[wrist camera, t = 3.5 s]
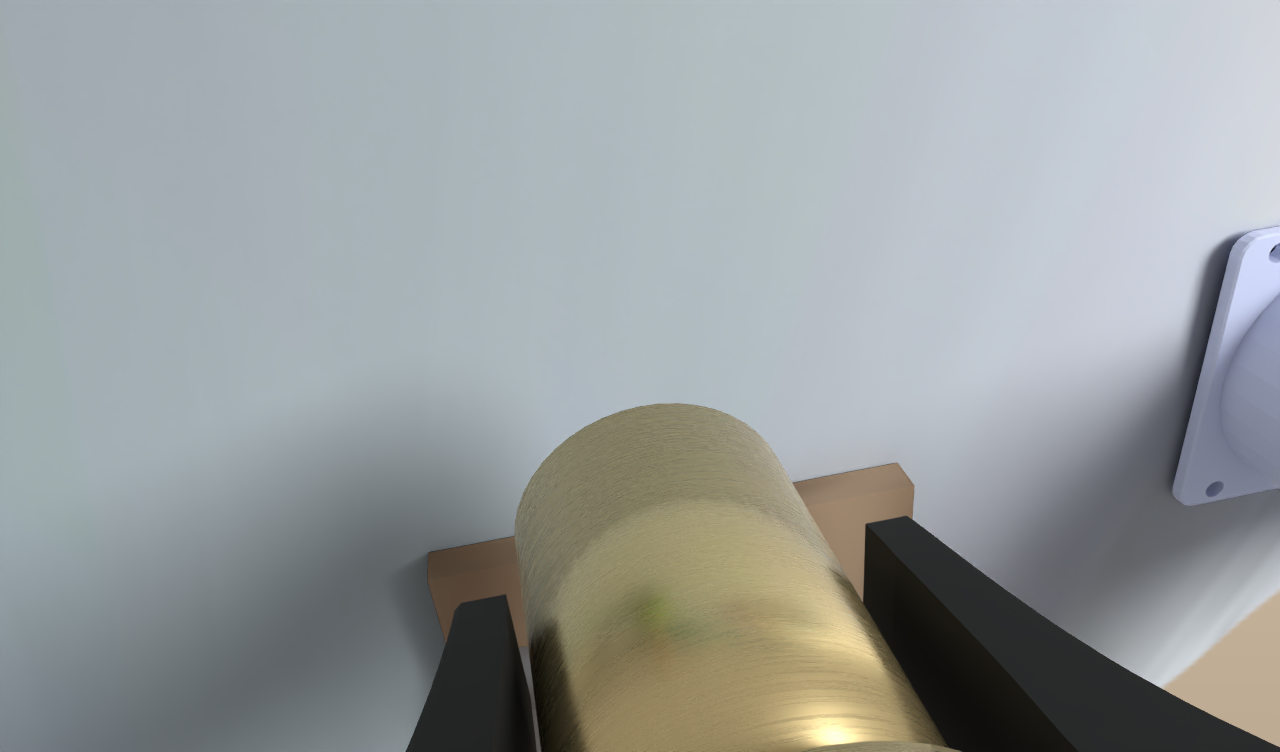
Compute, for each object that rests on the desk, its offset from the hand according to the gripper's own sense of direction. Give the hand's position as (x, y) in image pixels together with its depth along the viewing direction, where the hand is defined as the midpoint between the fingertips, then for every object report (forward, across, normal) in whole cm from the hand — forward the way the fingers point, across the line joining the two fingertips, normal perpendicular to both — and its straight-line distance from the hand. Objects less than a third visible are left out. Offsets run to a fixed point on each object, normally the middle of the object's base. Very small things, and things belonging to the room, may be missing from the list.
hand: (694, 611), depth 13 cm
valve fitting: (+2, 0, 0) cm, 2 cm away
